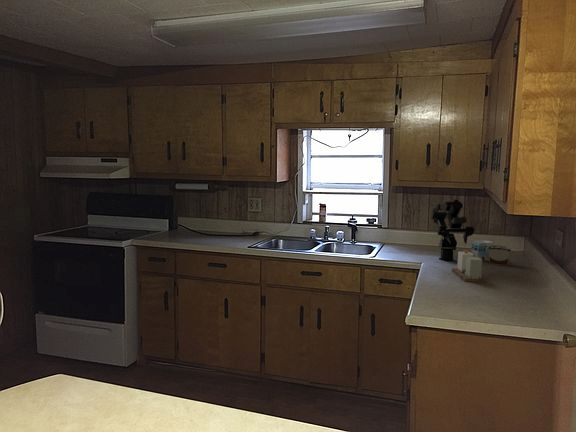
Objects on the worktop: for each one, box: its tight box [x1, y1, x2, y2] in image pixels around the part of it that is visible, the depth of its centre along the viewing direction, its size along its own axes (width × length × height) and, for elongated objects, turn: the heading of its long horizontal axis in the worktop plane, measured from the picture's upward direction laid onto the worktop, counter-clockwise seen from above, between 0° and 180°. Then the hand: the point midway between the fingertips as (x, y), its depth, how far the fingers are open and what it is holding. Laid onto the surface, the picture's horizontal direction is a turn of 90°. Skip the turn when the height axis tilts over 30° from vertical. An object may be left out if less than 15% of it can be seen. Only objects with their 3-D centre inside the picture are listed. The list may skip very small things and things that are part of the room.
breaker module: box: [456, 249, 474, 272], centre depth 249 cm, size 7×6×10 cm
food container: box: [488, 244, 512, 267], centre depth 273 cm, size 12×6×10 cm, turn 59°
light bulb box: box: [470, 240, 495, 262], centre depth 284 cm, size 11×7×11 cm, turn 105°
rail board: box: [451, 267, 487, 283], centre depth 244 cm, size 21×10×2 cm, turn 178°
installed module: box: [465, 257, 483, 278], centre depth 236 cm, size 6×6×9 cm
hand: (458, 243), depth 261 cm, fingers open, 8 cm apart
